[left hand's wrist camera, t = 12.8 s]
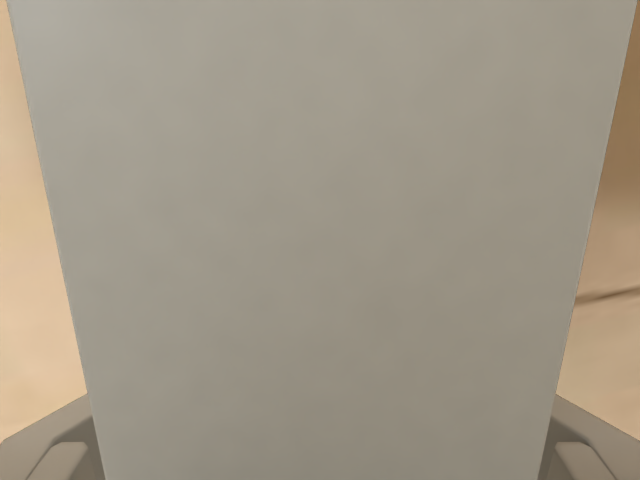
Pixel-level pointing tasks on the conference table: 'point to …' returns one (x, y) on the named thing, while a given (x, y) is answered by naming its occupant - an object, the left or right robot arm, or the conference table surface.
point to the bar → (321, 224)
